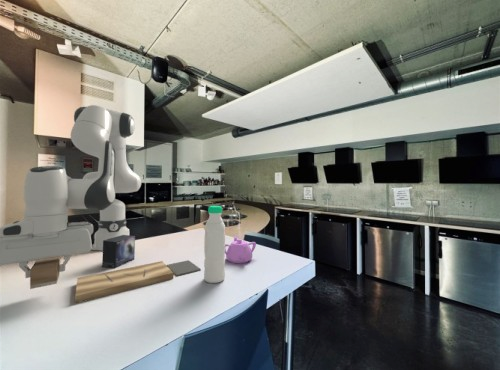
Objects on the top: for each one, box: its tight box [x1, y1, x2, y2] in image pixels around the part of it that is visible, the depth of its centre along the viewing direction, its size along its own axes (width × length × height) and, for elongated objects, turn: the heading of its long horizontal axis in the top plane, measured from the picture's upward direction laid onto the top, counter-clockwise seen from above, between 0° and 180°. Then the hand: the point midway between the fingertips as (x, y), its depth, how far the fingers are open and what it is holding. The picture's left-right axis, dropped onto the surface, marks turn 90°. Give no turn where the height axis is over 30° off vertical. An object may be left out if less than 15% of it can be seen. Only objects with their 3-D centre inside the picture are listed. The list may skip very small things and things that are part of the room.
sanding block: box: [29, 257, 61, 290], centre depth 59 cm, size 9×5×5 cm, turn 37°
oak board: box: [74, 260, 175, 304], centre depth 70 cm, size 14×26×2 cm, turn 128°
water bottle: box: [203, 205, 226, 284], centre depth 72 cm, size 7×7×25 cm
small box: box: [101, 234, 136, 269], centre depth 87 cm, size 11×6×10 cm, turn 168°
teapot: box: [225, 235, 257, 264], centre depth 92 cm, size 12×14×9 cm
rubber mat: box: [166, 260, 202, 277], centre depth 82 cm, size 12×9×1 cm
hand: (46, 273), depth 59 cm, fingers closed on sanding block, 5 cm apart
